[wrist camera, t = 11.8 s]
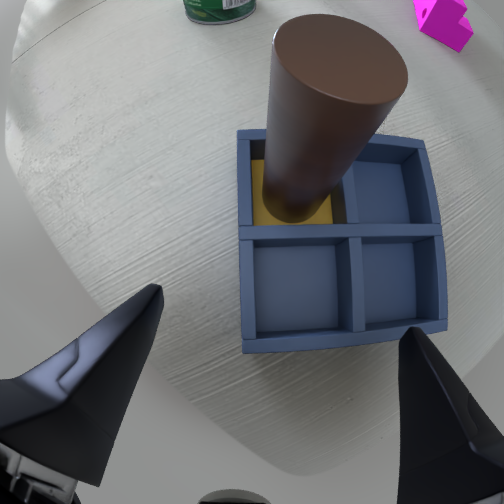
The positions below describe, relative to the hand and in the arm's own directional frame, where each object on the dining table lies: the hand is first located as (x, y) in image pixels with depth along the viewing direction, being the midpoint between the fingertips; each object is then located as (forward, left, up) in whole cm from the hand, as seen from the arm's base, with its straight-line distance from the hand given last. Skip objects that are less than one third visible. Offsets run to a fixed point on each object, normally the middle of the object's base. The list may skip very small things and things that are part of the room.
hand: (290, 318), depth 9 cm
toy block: (+37, -26, -10) cm, 46 cm away
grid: (+4, -5, -10) cm, 11 cm away
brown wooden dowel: (+7, -2, -9) cm, 11 cm away
